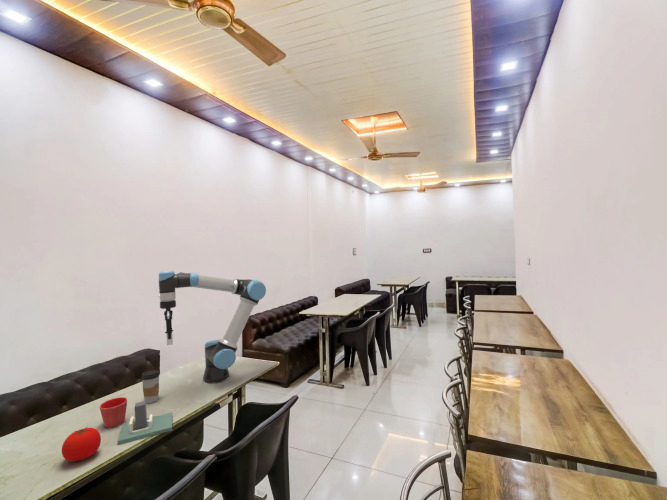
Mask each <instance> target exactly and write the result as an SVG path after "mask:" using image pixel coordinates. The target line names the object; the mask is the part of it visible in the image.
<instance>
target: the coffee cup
mask: <svg viewBox="0 0 667 500" xmlns="http://www.w3.org/2000/svg"><path fill="white" fill-rule="evenodd" d="M141 382H142V384H141V385H142V392H143V397H144V398H143V399H144V401H146V404H152V403H156V402H157V401H158V400H159V392H160V391H159V390H160V372H159V370H157V369H153V370H148V371H144V372H143V373H142V375H141Z"/></svg>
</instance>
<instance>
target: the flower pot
mask: <svg viewBox="0 0 667 500" xmlns="http://www.w3.org/2000/svg"><path fill="white" fill-rule="evenodd" d="M127 406H128V398H127V397H124V396H120V397H115V398H111V399H108V400H106V401H104V402H102V403H101V404H100V405H99V410H100V415H101V418H102V421H103V424H104V427H105V428H109V429H110V428H114V427H117V426H120V425H123V424H124V422H126V421H125V420H126V413H127V408H128V407H127Z"/></svg>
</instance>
